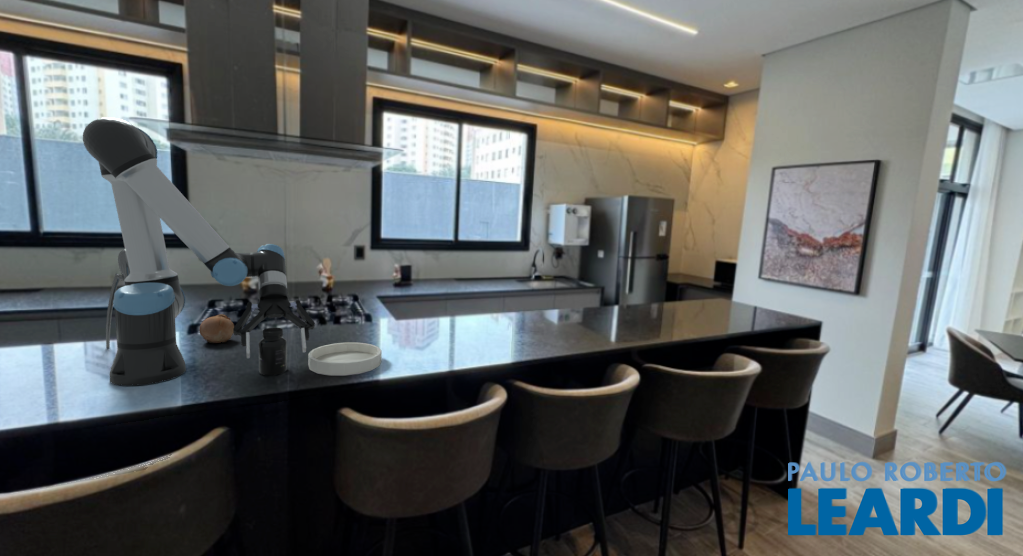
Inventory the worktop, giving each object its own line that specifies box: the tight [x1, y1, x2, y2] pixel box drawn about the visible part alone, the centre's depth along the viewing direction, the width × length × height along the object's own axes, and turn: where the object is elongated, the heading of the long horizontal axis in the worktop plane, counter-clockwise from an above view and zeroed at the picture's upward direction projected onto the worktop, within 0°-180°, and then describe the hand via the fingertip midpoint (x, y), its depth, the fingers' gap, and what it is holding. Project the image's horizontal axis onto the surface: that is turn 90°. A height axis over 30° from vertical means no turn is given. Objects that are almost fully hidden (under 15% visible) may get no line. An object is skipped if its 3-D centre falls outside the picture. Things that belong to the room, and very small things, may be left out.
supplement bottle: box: [258, 327, 288, 376], centre depth 119 cm, size 7×7×12 cm
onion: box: [199, 313, 235, 344], centre depth 143 cm, size 10×9×10 cm
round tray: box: [307, 342, 382, 376], centre depth 130 cm, size 20×20×4 cm
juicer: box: [105, 249, 130, 349], centre depth 132 cm, size 10×11×30 cm
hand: (277, 353), depth 119 cm, fingers open, 13 cm apart
